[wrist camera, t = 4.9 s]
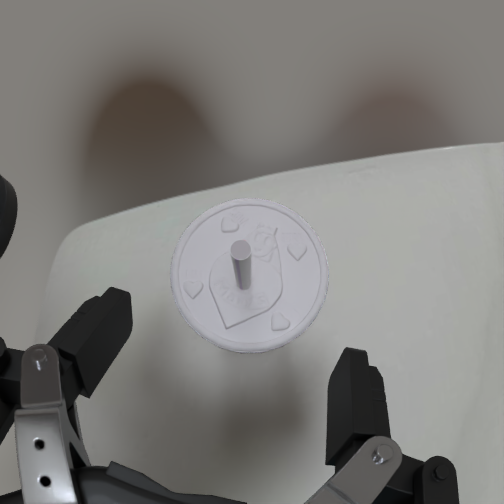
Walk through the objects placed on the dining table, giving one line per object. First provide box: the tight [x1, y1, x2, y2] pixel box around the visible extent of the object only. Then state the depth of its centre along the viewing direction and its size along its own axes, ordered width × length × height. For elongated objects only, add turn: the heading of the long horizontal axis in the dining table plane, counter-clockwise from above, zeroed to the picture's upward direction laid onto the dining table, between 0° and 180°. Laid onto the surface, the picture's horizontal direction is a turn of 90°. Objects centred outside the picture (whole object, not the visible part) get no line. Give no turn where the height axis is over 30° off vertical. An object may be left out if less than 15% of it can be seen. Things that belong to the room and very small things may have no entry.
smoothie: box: [170, 198, 329, 353], centre depth 15 cm, size 6×6×14 cm
